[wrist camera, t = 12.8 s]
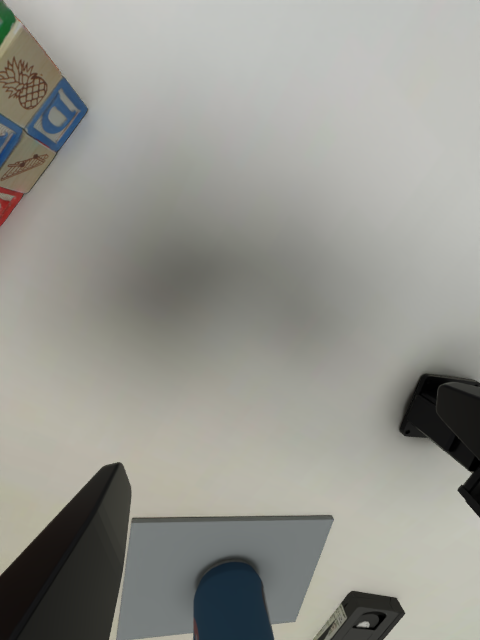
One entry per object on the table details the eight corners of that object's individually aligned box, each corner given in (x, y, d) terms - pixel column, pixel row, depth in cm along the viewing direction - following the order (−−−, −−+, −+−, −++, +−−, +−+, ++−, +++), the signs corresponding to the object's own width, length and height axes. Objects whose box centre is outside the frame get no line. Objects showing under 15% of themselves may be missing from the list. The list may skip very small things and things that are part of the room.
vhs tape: (348, 585, 32) (358, 607, 30) (393, 593, 35) (405, 613, 33) (292, 659, 35) (297, 683, 33) (337, 662, 37) (345, 684, 35)
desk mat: (331, 515, 27) (333, 519, 27) (293, 617, 31) (295, 621, 31) (132, 518, 23) (131, 523, 23) (117, 635, 27) (116, 641, 27)
